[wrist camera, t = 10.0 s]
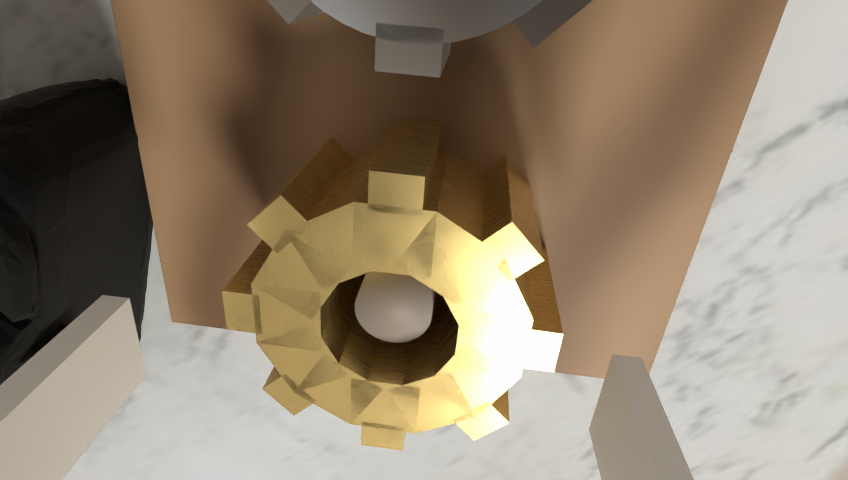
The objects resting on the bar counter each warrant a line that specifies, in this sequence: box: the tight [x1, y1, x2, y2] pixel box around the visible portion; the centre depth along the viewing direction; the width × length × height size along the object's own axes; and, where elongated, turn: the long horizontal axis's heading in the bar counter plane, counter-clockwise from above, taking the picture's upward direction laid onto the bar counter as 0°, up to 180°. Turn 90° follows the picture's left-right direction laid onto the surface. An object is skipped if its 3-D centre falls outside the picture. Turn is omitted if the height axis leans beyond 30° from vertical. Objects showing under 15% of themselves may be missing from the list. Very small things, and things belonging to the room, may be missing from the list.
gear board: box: [111, 0, 788, 379], centre depth 15 cm, size 20×22×7 cm
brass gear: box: [222, 117, 563, 451], centre depth 18 cm, size 10×10×5 cm
